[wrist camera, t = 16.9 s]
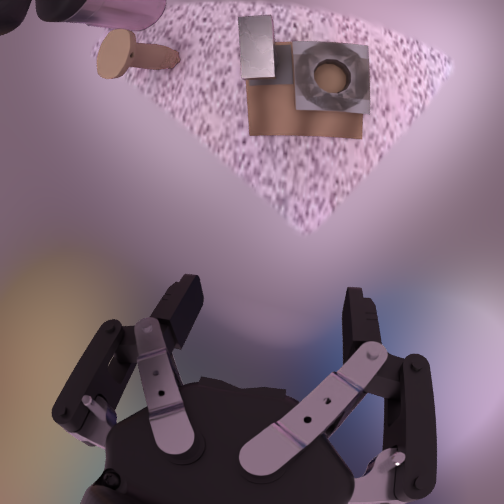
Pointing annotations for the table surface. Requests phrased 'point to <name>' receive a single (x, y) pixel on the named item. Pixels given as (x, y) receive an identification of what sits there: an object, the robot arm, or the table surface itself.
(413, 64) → the table surface
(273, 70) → the hammer
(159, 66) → the handle
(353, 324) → the robot arm
